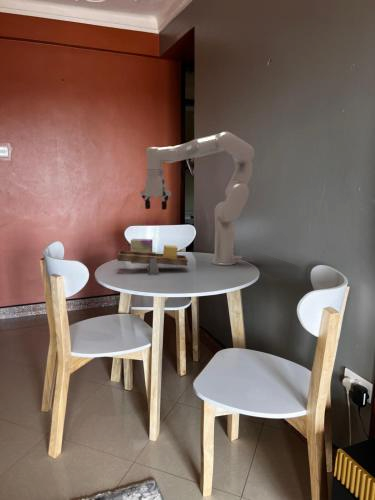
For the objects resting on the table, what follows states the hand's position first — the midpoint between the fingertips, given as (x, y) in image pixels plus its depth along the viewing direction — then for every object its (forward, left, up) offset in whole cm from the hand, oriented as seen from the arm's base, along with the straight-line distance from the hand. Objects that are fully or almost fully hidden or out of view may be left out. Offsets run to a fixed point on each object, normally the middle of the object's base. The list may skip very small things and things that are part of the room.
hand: (156, 209), depth 186 cm
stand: (+2, +12, -28) cm, 30 cm away
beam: (+2, +12, -23) cm, 26 cm away
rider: (-6, +12, -23) cm, 26 cm away
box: (+7, -7, -28) cm, 30 cm away
